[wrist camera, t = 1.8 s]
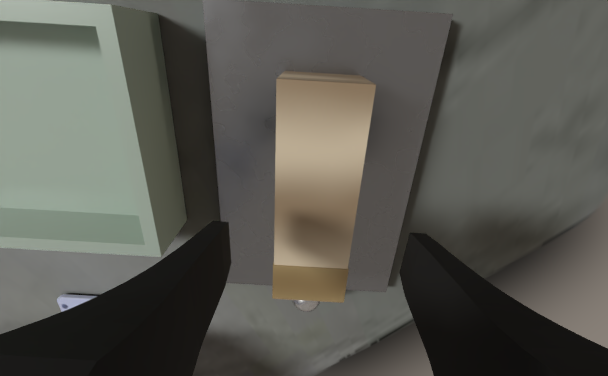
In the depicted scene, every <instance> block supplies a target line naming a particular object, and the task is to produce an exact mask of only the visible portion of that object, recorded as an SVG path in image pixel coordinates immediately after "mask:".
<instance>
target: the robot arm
mask: <svg viewBox="0 0 608 376" xmlns="http://www.w3.org/2000/svg"><path fill="white" fill-rule="evenodd" d="M230 266H231V249H230V235H229V222H222V221H213V222H211V223H210V224H209V225H207V226H206V227H205V228H204V229H202V230H201V231H200V232H199V233H197V234H196V235H195V236H194V237H192V238H191V239H190V240H188V241H187V242H186V243H185V244H183V245H182V246H181V247H179V248H178V249H177V250H175V251H174V252H172V253H171V254H170V255H168V256H167V257H165V258H164V259H162V260H161V261H159V262H158V263H157V264H155V265H154V266H152V267H150V268H149V269H147V270H146V271H144V272H142V273H141V274H139V275H137V276H135V277H134V278H132V279H130V280H128V281H127V282H125V283H123V284H121V285H119V286H117V287H115V288H113V289H111V290H109V291H107V292H105V293H103V294H101V295H99V296H87V295H69V294H62V295H61V296H60V297H59V298H58V299H57V302H58V304H59V306H60V309H61V311H62V312H60V313H58V314H56V315H53V316H50V317H48V318H45V319H43V320H40V321H37V322H34V323H31V324H29V325H26V326H23V327H20V328H17V329H15V330H12V331H9V332H6V333H3V334H0V376H192V375H193V371H194V368H195V365H196V361H197V358H198V355H199V351H200V348H201V345H202V343H203V340H204V337H205V335H206V332H207V330H208V327H209V325H210V322H211V320H212V318H213V315H214V313H215V310H216V308H217V305H218V303H219V300H220V298H221V295H222V293H223V290H224V288H225V285H226V281H227V278H228V274H229V270H230ZM400 276H401V281H402V285H403V289H404V293H405V297H406V300H407V302H408V305H409V308H410V310H411V313H412V316H413V318H414V321H415V323H416V326H417V328H418V331H419V334H420V336H421V339H422V341H423V344H424V347H425V349H426V352H427V355H428V358H429V361H430V364H431V367H432V371H433V374H434V376H608V349H607V348H605V347H603V346H601V345H599V344H597V343H595V342H592V341H590V340H588V339H586V338H584V337H582V336H580V335H578V334H576V333H574V332H572V331H570V330H568V329H566V328H564V327H562V326H560V325H558V324H556V323H555V322H553V321H551V320H549V319H547V318H545V317H544V316H542V315H540V314H538V313H536V312H534V311H533V310H531V309H529V308H528V307H526V306H524V305H523V304H521V303H519V302H518V301H516V300H515V299H513V298H512V297H510V296H508V295H507V294H505V293H504V292H502V291H501V290H499V289H498V288H496V287H495V286H493V285H492V284H491V283H489V282H488V281H486V280H485V279H484V278H482V277H481V276H479V275H478V274H477V273H475V272H474V271H473V270H471V269H470V268H469V267H467V266H466V265H465V264H464V263H462V262H461V261H460V260H458V259H457V258H456V257H455V256H453V255H452V254H451V253H450V252H448V251H447V250H446V249H445V248H443V247H442V246H441V245H440V244H438V243H437V242H436V241H435V240H433V239H432V238H431V237H429V236H428V235H427V234H421V233H410V235H409V239H408V243H407V246H406V250H405V254H404V258H403V262H402V266H401V270H400Z"/></svg>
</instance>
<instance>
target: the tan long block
mask: <svg viewBox="0 0 608 376" xmlns="http://www.w3.org/2000/svg"><path fill="white" fill-rule="evenodd" d="M375 89H376V84H374V83H372V82H371V81H369V80H367V79H366V78H364V77H362V76H360V75H343V74H327V73H311V72H294V71H284V72H283V73H282V74H281V75H280V76H279V77H278V78H277V79H276V151H275V224H274V262H273V299H288V300H305V301H322V302H340V303H343V302H344V297H345V290H346V284H347V277H348V271H349V269H348V264H349V257H350V251H351V244H352V238H353V231H354V225H355V218H356V212H357V205H358V199H359V193H360V186H361V180H362V173H363V167H364V160H365V154H366V147H367V141H368V134H369V128H370V121H371V115H372V108H373V102H374V95H375Z"/></svg>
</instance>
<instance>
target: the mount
mask: <svg viewBox="0 0 608 376" xmlns="http://www.w3.org/2000/svg"><path fill="white" fill-rule="evenodd" d="M203 11H204V23H205V35H206V47H207V59H208V72H209V84H210V96H211V108H212V120H213V132H214V145H215V157H216V169H217V181H218V193H219V205H220V218H221V221H222V222H229V235H230V249H231V266H230V270H229V274H228V278H227V281H226V283H238V284H255V285H273V262H274V224H275V151H276V79H277V78H278V77H279V76H280V75H281V74H282V73H283V72H284V71H294V72H311V73H327V74H343V75H360V76H362V77H364V78H366V79H367V80H369V81H371V82H372V83H374V84H376V89H375V95H374V102H373V108H372V115H371V121H370V128H369V134H368V141H367V147H366V154H365V160H364V167H363V173H362V180H361V186H360V193H359V199H358V205H357V212H356V218H355V225H354V231H353V238H352V244H351V251H350V257H349V264H348V269H349V271H348V277H347V284H346V290H359V291H377V292H386V290H387V286H388V282H389V278H390V274H391V269H392V265H393V261H394V257H395V253H396V249H397V245H398V240H399V236H400V232H401V228H402V224H403V220H404V215H405V211H406V207H407V203H408V199H409V195H410V191H411V186H412V182H413V178H414V174H415V170H416V166H417V162H418V157H419V153H420V149H421V145H422V141H423V137H424V133H425V128H426V124H427V120H428V116H429V112H430V108H431V103H432V99H433V95H434V91H435V87H436V83H437V79H438V74H439V70H440V66H441V62H442V58H443V54H444V50H445V45H446V41H447V37H448V33H449V29H450V25H451V20H452V16H453V14H445V13H429V12H413V11H397V10H381V9H365V8H349V7H333V6H317V5H301V4H285V3H269V2H253V1H236V0H203ZM292 301H293V304H294V305H295V307H296V308H297V309H299V310H300V311H304V312H309V311H312V310H314V309H315V308H316V307H317V306H318V305H319V303H320V301H305V300H292Z"/></svg>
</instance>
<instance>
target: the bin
mask: <svg viewBox="0 0 608 376" xmlns="http://www.w3.org/2000/svg"><path fill="white" fill-rule="evenodd" d="M186 221H187V215H186V208H185V201H184V194H183V187H182V180H181V173H180V166H179V159H178V151H177V144H176V137H175V130H174V123H173V116H172V109H171V102H170V95H169V88H168V81H167V74H166V67H165V60H164V52H163V45H162V38H161V31H160V24H159V17H158V14H157V13H152V12H146V11H141V10H136V9H131V8H126V7H121V6H115V5H109V4H93V3H77V2H61V1H45V0H0V248H15V249H33V250H50V251H67V252H84V253H101V254H119V255H136V256H153V257H162V255H163V254H164V252H165V251H166V250H167V248H168V247H169V245H170V244H171V243H172V241H173V240H174V238H175V237H176V235H177V234H178V233H179V231H180V230H181V228H182V227H183V225H184V224H185V223H186Z"/></svg>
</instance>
